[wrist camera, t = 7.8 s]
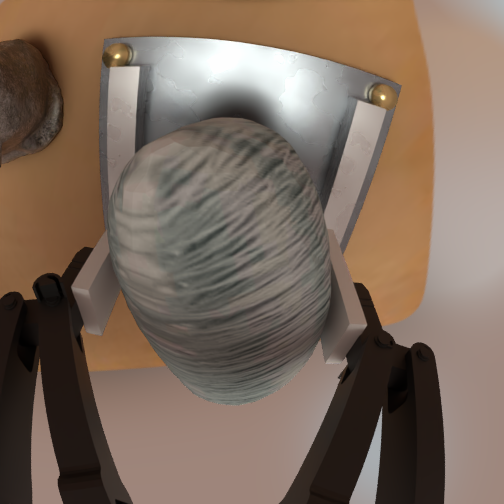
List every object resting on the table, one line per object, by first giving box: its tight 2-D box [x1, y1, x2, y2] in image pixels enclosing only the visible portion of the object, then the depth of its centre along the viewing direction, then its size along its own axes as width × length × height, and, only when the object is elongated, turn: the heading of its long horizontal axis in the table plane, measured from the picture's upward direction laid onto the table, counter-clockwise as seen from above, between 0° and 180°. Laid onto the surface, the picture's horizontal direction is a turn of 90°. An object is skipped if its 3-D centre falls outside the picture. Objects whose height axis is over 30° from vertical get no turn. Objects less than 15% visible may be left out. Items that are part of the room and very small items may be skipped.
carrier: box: [99, 37, 402, 254], centre depth 21 cm, size 20×20×3 cm
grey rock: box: [107, 117, 331, 405], centre depth 13 cm, size 14×10×10 cm
